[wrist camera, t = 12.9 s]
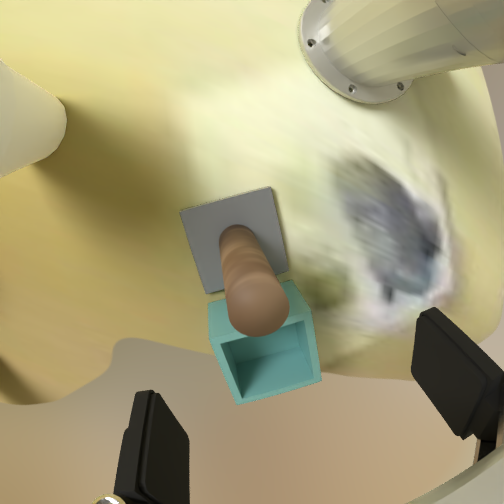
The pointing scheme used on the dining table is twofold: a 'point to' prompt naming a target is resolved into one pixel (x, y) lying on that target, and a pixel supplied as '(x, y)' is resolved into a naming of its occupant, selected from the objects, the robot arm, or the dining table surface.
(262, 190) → the coaster
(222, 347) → the teal open box
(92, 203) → the dining table surface
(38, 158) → the foam cup
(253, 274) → the dowel
